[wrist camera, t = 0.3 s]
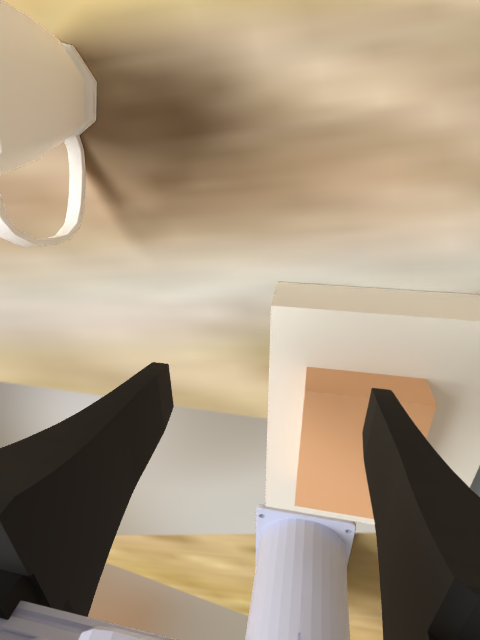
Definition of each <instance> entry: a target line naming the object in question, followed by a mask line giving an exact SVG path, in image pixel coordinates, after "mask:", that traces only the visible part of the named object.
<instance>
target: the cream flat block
mask: <svg viewBox="0 0 480 640" xmlns="http://www.w3.org/2000/svg"><path fill="white" fill-rule="evenodd" d="M307 367H315V368H325V369H334V370H344V371H354V372H364V373H373V374H383V375H393V376H402V377H412V378H422V379H427V381H428V384H429V387H430V389H431V392H432V394H433V397H434V400H435V402H436V405H437V407H436V410H435V413H434V416H433V419H432V423H431V426H430V429H429V432H428V435H427V438H426V439H427V441H428V442H429V443H430V444H431V446H432V447H433V448H434V449H435V451H436V452H437V453H438V454H439V455H440V456H441V458H442V459H443V460H444V461H445V462H446V463H447V465H448V466H449V467H450V468H451V469H452V470H453V471H454V472H455V473H456V474H457V475H458V476H459V477H460V478H461V479H462V480H463V481H464V482H465V483H466V485H467V486H468V487H469V488H470V486H471V484H472V482H473V479H474V477H475V475H476V473H477V470H478V468H479V466H480V295H477V294H461V293H445V292H430V291H414V290H398V289H383V288H367V287H351V286H336V285H320V284H304V283H289V282H277V286H276V290H275V293H274V297H273V301H272V304H271V329H270V363H269V397H268V431H267V434H268V435H267V465H266V499H265V500H266V501H265V506H268V507H273V508H279V509H285V510H291V511H297V512H303V513H308V514H314V515H320V516H326V517H332V518H338V519H343V520H349V521H355V522H361V523H367V524H373V525H375V522H374V519H370V518H364V517H358V516H352V515H346V514H340V513H334V512H328V511H322V510H316V509H310V508H305V507H299V506H295V493H296V479H297V468H298V457H299V446H300V435H301V424H302V413H303V402H304V391H305V380H306V369H307Z"/></svg>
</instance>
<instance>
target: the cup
mask: <svg viewBox="0 0 480 640" xmlns="http://www.w3.org/2000/svg"><path fill="white" fill-rule="evenodd" d="M96 106H97V81H96V80H95V78H94V77H93V75H92V73H91V72H90V70H89V69H88V67H87V66H86V64H85V63H84V61H83V59H82V58H81V56H80V55H79V53H78V52H77V50H76V49H75V47H74V46H73V45H69V44H65V43H62V42H60V41H59V39H57V38H56V37H55V36H54V35H53V34H51V33H50V32H49V31H48V30H46V29H45V28H44V27H43V26H41V25H40V24H39V23H38V22H36V21H35V20H34V19H33V18H31V17H30V16H29V15H27V14H25V13H23V12H22V11H20V10H18V9H16V8H15V7H13V6H11V5H9V4H8V3H6V2H4V1H2V0H0V176H2V175H4V174H6V173H8V172H11V171H13V170H15V169H18V168H20V167H22V166H25V165H27V164H29V163H32V162H34V161H36V160H38V159H40V158H41V157H43V156H44V155H45V154H47V153H48V152H50V151H51V150H53V149H54V148H56V147H57V146H58V145H60V144H61V143H62V142H65V145H66V147H67V150H68V157H69V169H70V183H69V200H68V210H67V214H66V219H65V224H64V225H63V227H62V228H61V229H60V230H59V231H58V233H57V234H56V235H55V236H52V237H49V238H44V239H37V238H35V237H33V236H32V235H30V234H28V233H26V232H24V231H22V230H20V229H18V228H17V227H16V226H15V225H14V224H13V223H12V221H11V220H10V219H9V218H8V215H7V212H6V209H5V206H4V202H3V199H2V196H1V193H0V237H1V238H3V239H6V240H8V241H10V242H12V243H14V244H16V245H18V246H21V247H34V246H47V245H56V244H59V243H62V242H65V241H68V240H70V239H71V238H72V237H73V236H74V234H75V233H76V232H77V231H78V230H79V228H80V226H81V222H82V218H83V214H84V206H85V188H86V168H85V156H84V149H83V145H82V142H81V139H80V136H79V135H80V134H82V133H83V132H84V131H85V130H86V129H87V128H88V127H89V126H91V125H92V124H93V123H94V122H95V121H96Z"/></svg>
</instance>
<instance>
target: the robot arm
mask: <svg viewBox="0 0 480 640" xmlns="http://www.w3.org/2000/svg"><path fill="white" fill-rule="evenodd" d="M173 407H174V406H173V398H172V389H171V381H170V373H169V365H168V364H164V363H155V362H153V363H151V364H150V365H148V366H147V367H145V368H144V369H142V370H141V371H140V372H138V373H137V374H135V375H134V376H133V377H131V378H130V379H129V380H127V381H126V382H124V383H123V384H121V385H120V386H119V387H117V388H116V389H114V390H113V391H111V392H110V393H109V394H107V395H105V396H104V397H102V398H101V399H99V400H98V401H96V402H94V403H93V404H92V405H90V406H88V407H87V408H85V409H83V410H82V411H80V412H78V413H76V414H75V415H73V416H71V417H69V418H67V419H66V420H64V421H62V422H60V423H58V424H56V425H54V426H52V427H50V428H48V429H45V430H43V431H41V432H39V433H37V434H34V435H32V436H30V437H28V438H25V439H23V440H20V441H18V442H15V443H13V444H11V445H8V446H5V447H2V448H0V640H177V639H173V638H169V637H165V636H161V635H157V634H153V633H149V632H145V631H141V630H137V629H133V628H129V627H125V626H121V625H117V624H113V623H109V622H105V621H101V620H97V619H93V618H89V617H88V613H89V611H90V608H91V604H92V601H93V598H94V595H95V592H96V589H97V586H98V583H99V580H100V577H101V574H102V571H103V569H104V566H105V563H106V560H107V557H108V554H109V552H110V549H111V546H112V544H113V541H114V538H115V536H116V533H117V530H118V527H119V525H120V522H121V520H122V517H123V515H124V513H125V510H126V508H127V505H128V503H129V500H130V498H131V495H132V493H133V491H134V489H135V487H136V485H137V482H138V481H139V479H140V476H141V475H142V473H143V471H144V469H145V468H146V466H147V464H148V462H149V460H150V458H151V456H152V454H153V452H154V451H155V449H156V447H157V445H158V443H159V441H160V439H161V437H162V435H163V433H164V431H165V429H166V426H167V423H168V421H169V418H170V415H171V412H172V409H173ZM362 437H363V457H364V465H365V471H366V477H367V483H368V488H369V494H370V500H371V505H372V511H373V517H374V522H375V529H376V536H377V546H378V559H379V572H380V587H381V603H382V621H383V640H480V497H479V496H478V495H477V494H476V493H475V492H474V491H472V490H471V489H470V488H469V487H468V486H467V485H466V483H465V482H464V481H463V480H462V479H461V478H460V477H459V476H458V475H457V474H456V473H455V472H454V471H453V470H452V469H451V468H450V467H449V466H448V465H447V463H446V462H445V461H444V460H443V459H442V458H441V456H440V455H439V454H438V453H437V452H436V451H435V449H434V448H433V447H432V446H431V444H430V443H429V442H428V441H427V439H426V438H425V437H424V435H423V434H422V433H421V431H420V430H419V429H418V428H417V426H416V425H415V423H414V422H413V421H412V419H411V418H410V416H409V415H408V414H407V412H406V411H405V409H404V408H403V406H402V405H401V403H400V402H399V400H398V399H397V397H396V396H395V394H394V393H393V392H392V391H391V390H387V389H379V388H372V389H371V394H370V399H369V403H368V408H367V413H366V417H365V422H364V427H363V431H362ZM355 530H356V524H355V522H354V521H349V520H343V519H338V518H332V517H326V516H320V515H314V514H308V513H303V512H297V511H291V510H285V509H279V508H273V507H268V506H265V505H258V506H257V510H256V570H255V577H254V584H253V590H252V597H251V604H250V611H249V617H248V624H247V631H246V638H245V640H350V629H349V609H348V588H347V565H348V561H349V556H350V552H351V548H352V543H353V539H354V535H355Z"/></svg>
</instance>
